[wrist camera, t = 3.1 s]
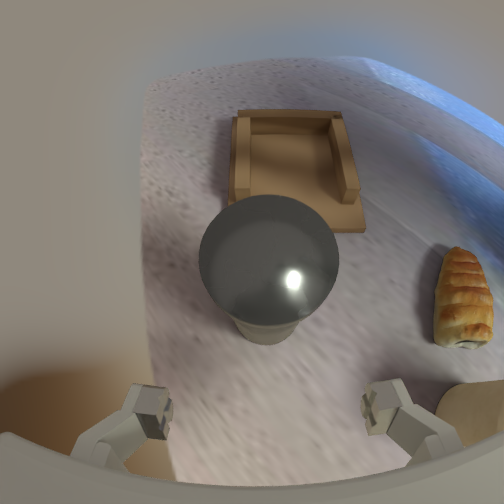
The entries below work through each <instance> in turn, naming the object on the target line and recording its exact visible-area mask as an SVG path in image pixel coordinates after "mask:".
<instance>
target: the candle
mask: <svg viewBox="0 0 504 504" xmlns="http://www.w3.org/2000/svg"><path fill="white" fill-rule="evenodd" d="M435 416H437V417H438V418H440V419H441V420H443V421H445V422H446V423H448V424H450V425H451V426H453V427H454V428H455V430H456V432H457V434H458V436H459V438H460V440H461V442H462V444H463V446H465V447H466V446H469V445H471V444H474V443H476V442H478V441H481V440H483V439H485V438H487V437H490V436H492V435H494V434H496V433H498V432H500V431H502V430H504V380H497V381H487V382H476V383H465V384H459V385H456V386H454V387H452V388H451V389H449V390H448V391H447V392H446V393H445V394H444V395H443V397H442V398H441V400H440V402H439V404H438V406H437V409H436V412H435Z"/></svg>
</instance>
